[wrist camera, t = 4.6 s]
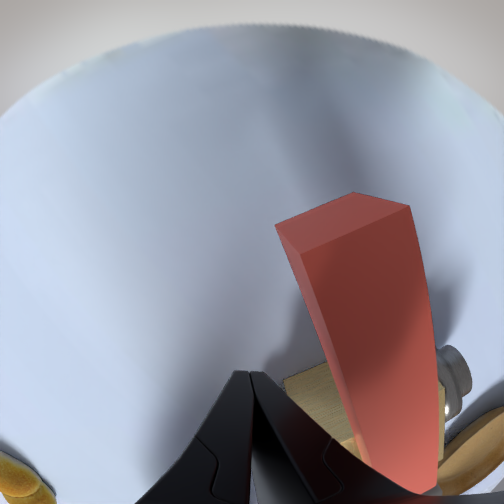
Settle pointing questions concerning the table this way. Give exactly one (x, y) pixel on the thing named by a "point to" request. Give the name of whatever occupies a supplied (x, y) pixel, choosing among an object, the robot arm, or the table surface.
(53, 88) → the table surface
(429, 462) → the lever
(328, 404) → the valve pipe
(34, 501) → the bread roll
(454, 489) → the plant saucer
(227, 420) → the robot arm
